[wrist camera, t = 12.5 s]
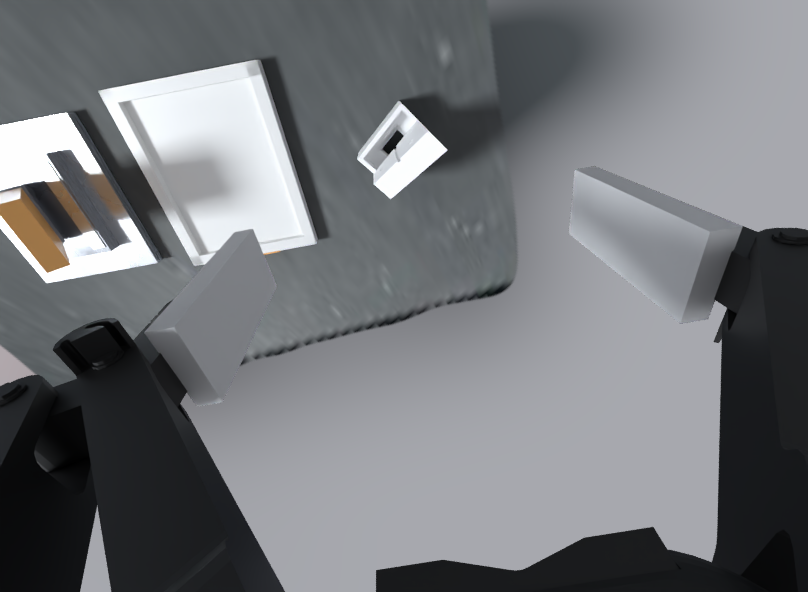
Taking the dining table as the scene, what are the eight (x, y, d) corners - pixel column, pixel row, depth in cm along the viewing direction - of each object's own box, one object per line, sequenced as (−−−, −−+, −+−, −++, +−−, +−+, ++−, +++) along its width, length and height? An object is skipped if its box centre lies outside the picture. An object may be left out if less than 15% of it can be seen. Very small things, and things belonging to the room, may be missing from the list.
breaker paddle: (-5, 190, 29) (-14, 205, 22) (23, 183, 30) (22, 196, 23) (40, 246, 32) (44, 275, 25) (64, 239, 33) (74, 264, 26)
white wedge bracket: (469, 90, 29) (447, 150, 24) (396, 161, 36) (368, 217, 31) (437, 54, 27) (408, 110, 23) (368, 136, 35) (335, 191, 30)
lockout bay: (107, 90, 29) (97, 90, 28) (260, 60, 29) (256, 59, 28) (200, 262, 38) (195, 267, 37) (318, 241, 37) (316, 245, 36)
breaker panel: (-60, 138, 30) (-93, 143, 28) (74, 111, 30) (52, 114, 28) (54, 278, 38) (35, 290, 35) (162, 258, 37) (150, 269, 35)
